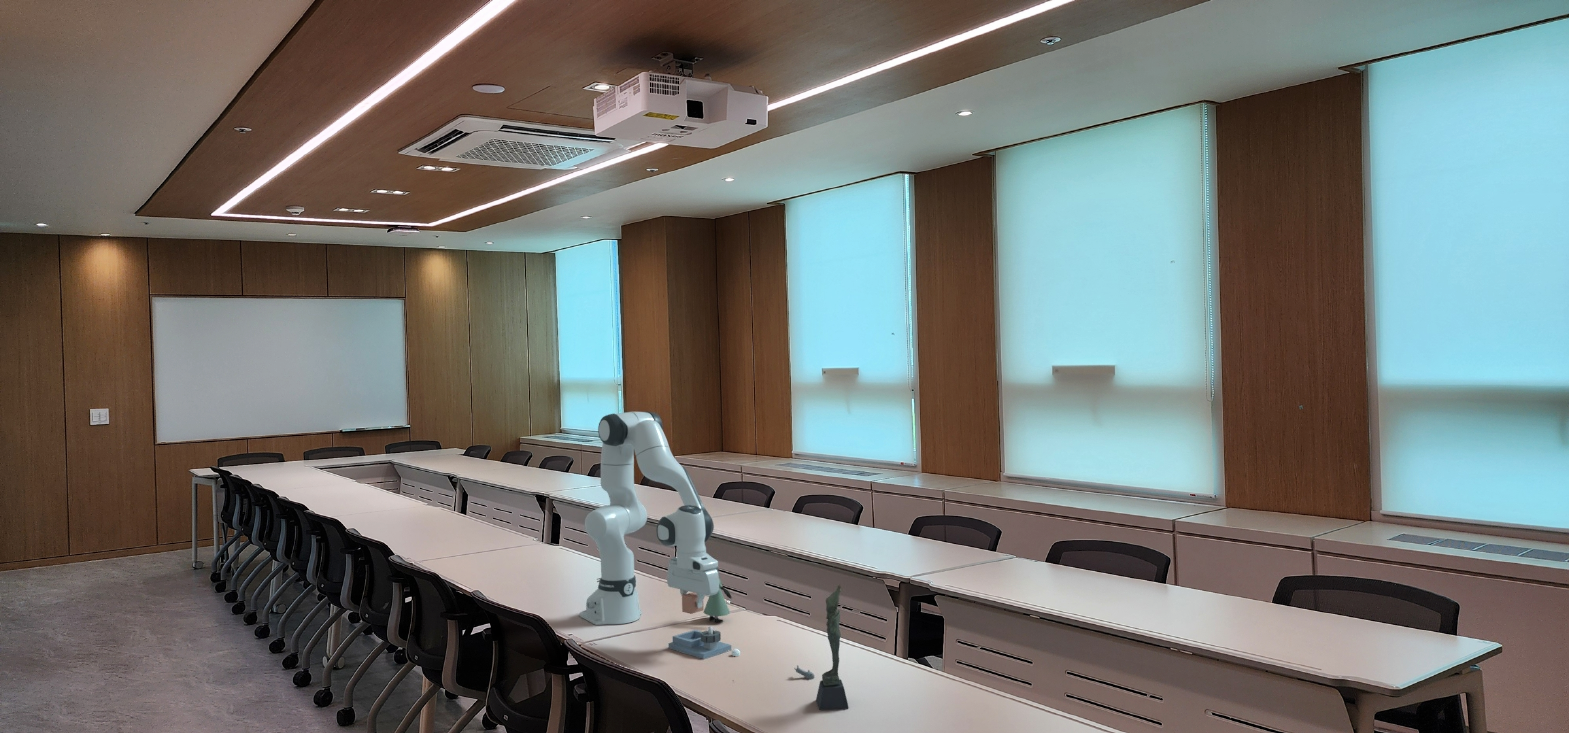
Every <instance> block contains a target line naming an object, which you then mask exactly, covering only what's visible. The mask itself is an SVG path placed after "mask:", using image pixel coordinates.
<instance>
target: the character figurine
mask: <svg viewBox="0 0 1569 733" xmlns="http://www.w3.org/2000/svg"><path fill="white" fill-rule="evenodd" d="M715 569H716V570H717V571H718V575H719V573H721V572H720V569H719V567H717V568H715ZM722 590H723V591H722ZM723 593H724V594H725V596H726V597H727V598H728V599H733V597H732V595H731V593H730V591H729V590H728V589H726V588H725V587H724V586H723V584H722V580H721V579H720V578H719V591H718V593H717V594H715V595H711V596H708V599H707V601H706V605H705V607H704V610H703V611H702V612H703V614H705V615H706V616H709V621H711V622H712V621H714V623H716V624H717V623H721V622H723V621H724V620H723V619H721V618H719V617H725V616H728V615H730V613H731V612H730V609H729V606H728V605H727V602H726V599H725V596H724V594H723Z"/></svg>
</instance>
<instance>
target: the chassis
mask: <svg viewBox="0 0 1569 733" xmlns="http://www.w3.org/2000/svg"><path fill="white" fill-rule="evenodd" d="M713 628H714V627H713V626H708V630H709V635H711V634H713ZM702 632H703V631H701V630H698V629H693V630H690V631H686V632H683V633H679V634H675V635H672V642H669V643H668V649H671V650H673V651H675V652H676V651H677V652H680V653H683V654H685V655H689V656H692V657H696V658H698V659H702V660H705V659H708V658H712V657H715V656H717V654H718V655H721V654H724V653H727V652H729V651H728V650H730V651H732V644H729V643H725V642H722V641H718V642H713V643H704V642H701V633H702ZM726 651H727V652H726ZM723 652H724V653H723Z"/></svg>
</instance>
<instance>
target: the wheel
mask: <svg viewBox="0 0 1569 733" xmlns="http://www.w3.org/2000/svg"><path fill="white" fill-rule="evenodd" d="M701 632H702V633H701V642H704V643H713V642H718V641H719V642H721V640H722V638H721V637H722V636H721V634H722V633H721V631H719V630H713V634H711V635H709V629H708V630H704V631H701Z"/></svg>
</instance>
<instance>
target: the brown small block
mask: <svg viewBox="0 0 1569 733" xmlns="http://www.w3.org/2000/svg"><path fill="white" fill-rule="evenodd" d="M687 593H688V594H685V595H682V596H681V606H682V607H681V609H682V610H681V611H682V613H687V614H695V613H699V612H704V609H705V607H704V605H703V606H702V607H700V608H697V607H695V601H697V599H698V597H697V593H694V592H690V593H689V592H687ZM702 603H703V604H704V600H703V601H702Z"/></svg>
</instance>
